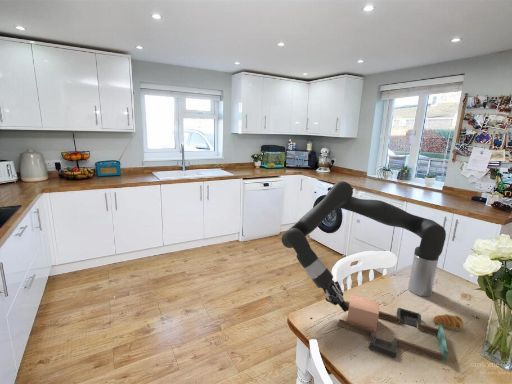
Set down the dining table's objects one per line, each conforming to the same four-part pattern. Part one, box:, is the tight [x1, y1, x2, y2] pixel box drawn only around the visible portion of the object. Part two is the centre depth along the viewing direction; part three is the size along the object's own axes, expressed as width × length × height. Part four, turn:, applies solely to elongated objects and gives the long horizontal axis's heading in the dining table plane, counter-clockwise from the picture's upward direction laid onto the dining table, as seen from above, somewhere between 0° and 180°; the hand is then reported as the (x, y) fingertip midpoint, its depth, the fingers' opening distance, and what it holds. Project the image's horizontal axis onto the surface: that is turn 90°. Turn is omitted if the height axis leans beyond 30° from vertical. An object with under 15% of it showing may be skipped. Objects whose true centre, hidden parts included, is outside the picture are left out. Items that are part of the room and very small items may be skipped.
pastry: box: [432, 313, 465, 332], centre depth 104 cm, size 9×7×4 cm
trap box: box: [338, 300, 449, 363], centre depth 99 cm, size 27×33×4 cm
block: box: [346, 294, 380, 333], centre depth 103 cm, size 8×10×8 cm
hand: (347, 309), depth 105 cm, fingers closed
